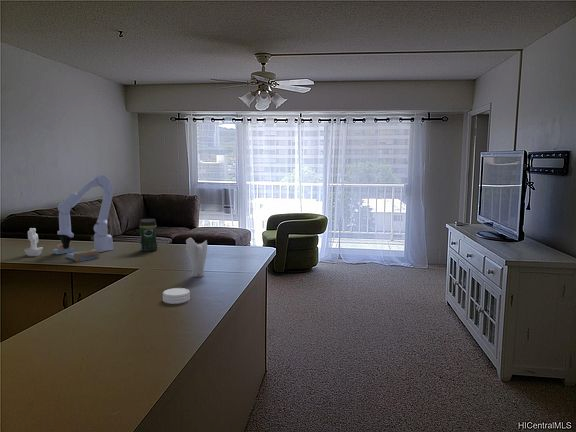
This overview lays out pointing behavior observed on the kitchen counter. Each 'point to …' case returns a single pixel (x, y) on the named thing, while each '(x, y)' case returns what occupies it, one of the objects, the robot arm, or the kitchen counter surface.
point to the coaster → (176, 295)
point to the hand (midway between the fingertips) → (66, 248)
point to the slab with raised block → (62, 249)
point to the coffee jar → (148, 235)
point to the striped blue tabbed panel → (83, 255)
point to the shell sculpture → (196, 256)
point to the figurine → (33, 243)
